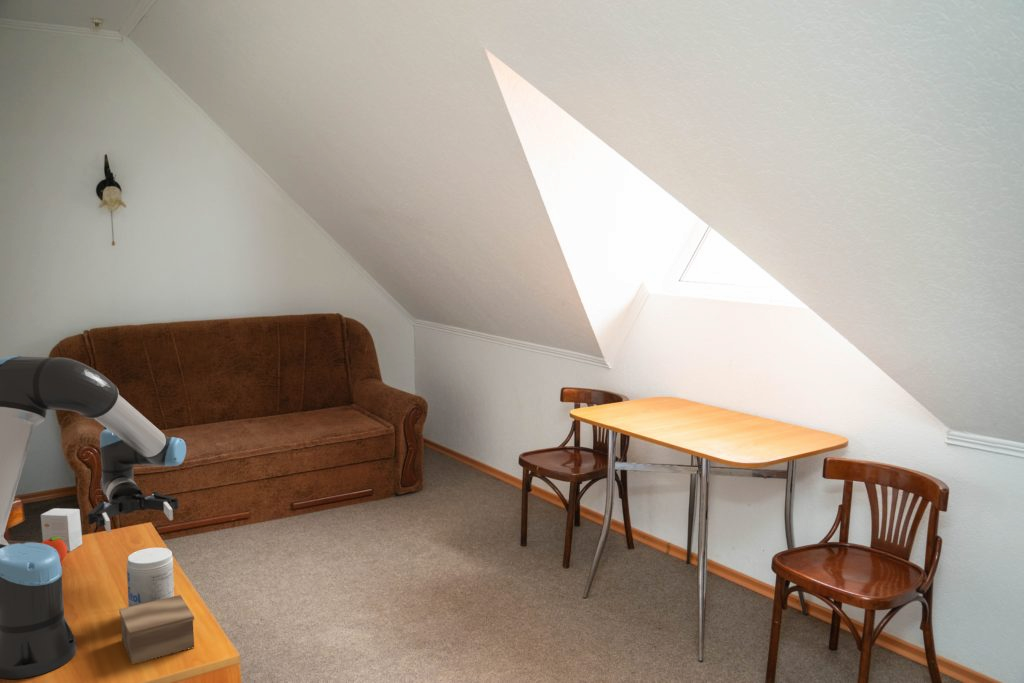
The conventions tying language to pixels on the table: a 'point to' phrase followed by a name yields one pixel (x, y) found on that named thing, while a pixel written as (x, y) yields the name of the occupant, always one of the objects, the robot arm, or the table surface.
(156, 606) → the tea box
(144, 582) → the supplement tub
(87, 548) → the table surface
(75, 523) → the small box
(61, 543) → the clementine
